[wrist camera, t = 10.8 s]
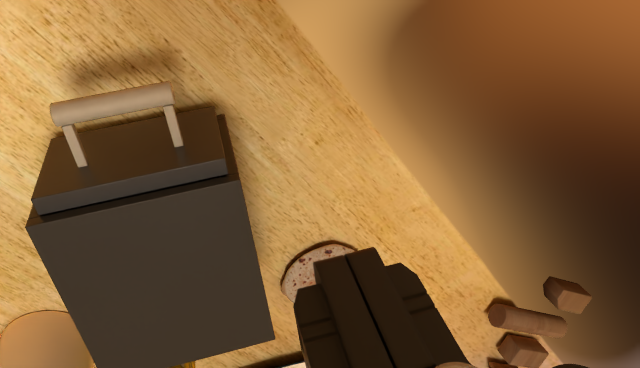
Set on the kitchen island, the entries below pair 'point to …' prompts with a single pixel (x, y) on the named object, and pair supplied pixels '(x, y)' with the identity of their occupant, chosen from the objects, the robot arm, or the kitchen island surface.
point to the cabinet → (159, 272)
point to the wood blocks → (536, 323)
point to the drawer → (126, 150)
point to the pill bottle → (43, 342)
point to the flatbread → (308, 268)
